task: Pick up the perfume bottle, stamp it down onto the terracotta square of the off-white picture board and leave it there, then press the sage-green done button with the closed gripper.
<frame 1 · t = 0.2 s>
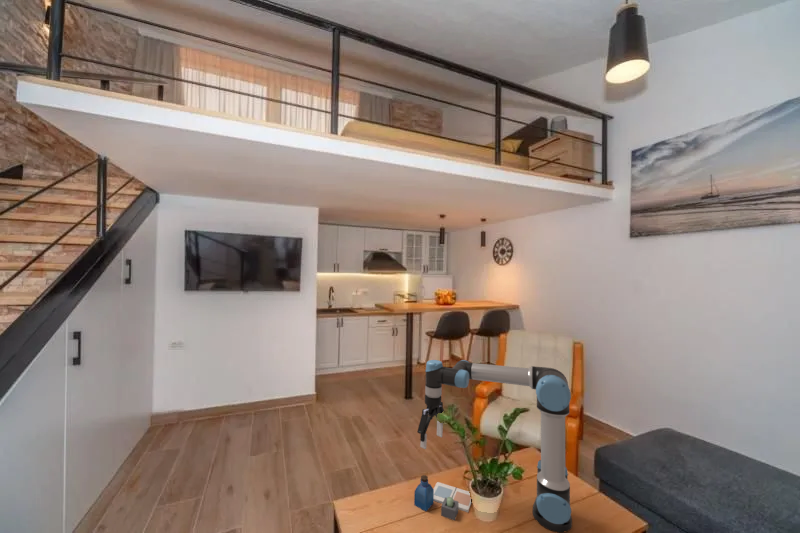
hand: (431, 441, 144), 27 cm above the table, fingers open, 13 cm apart
button housing: (449, 513, 136), on the table
picture board: (451, 497, 146), on the table
perfume bottle: (423, 504, 141), on the table
done button: (450, 503, 136), point 4 cm above the table, slide at 0.0 cm
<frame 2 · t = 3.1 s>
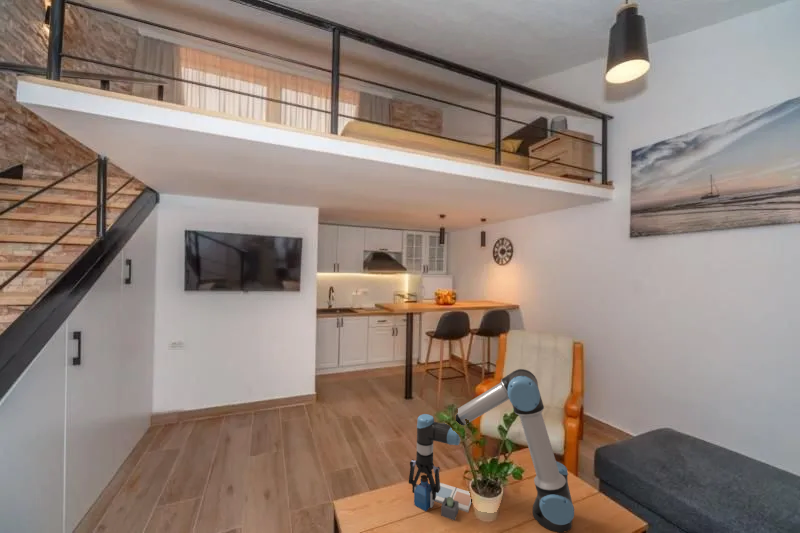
hand: (423, 502, 141), 1 cm above the table, fingers closed on perfume bottle, 7 cm apart
perfume bottle: (423, 504, 141), on the table, touching gripper
everything else where it was.
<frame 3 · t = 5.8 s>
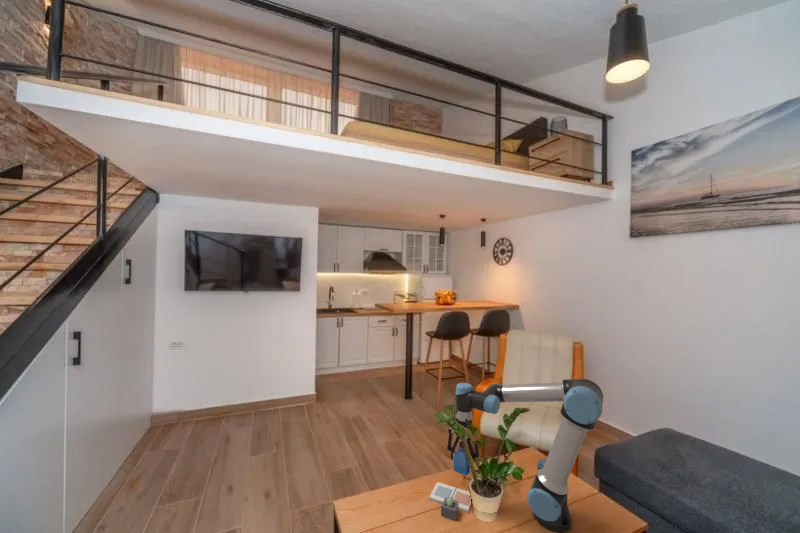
hand: (462, 468, 144), 14 cm above the table, fingers closed on perfume bottle, 7 cm apart
perfume bottle: (462, 470, 144), point 14 cm above the table, touching gripper
everything else where it was.
when the fingers open (3 cm above the table, at t = 8.5 s): perfume bottle drops 1 cm, resting on picture board.
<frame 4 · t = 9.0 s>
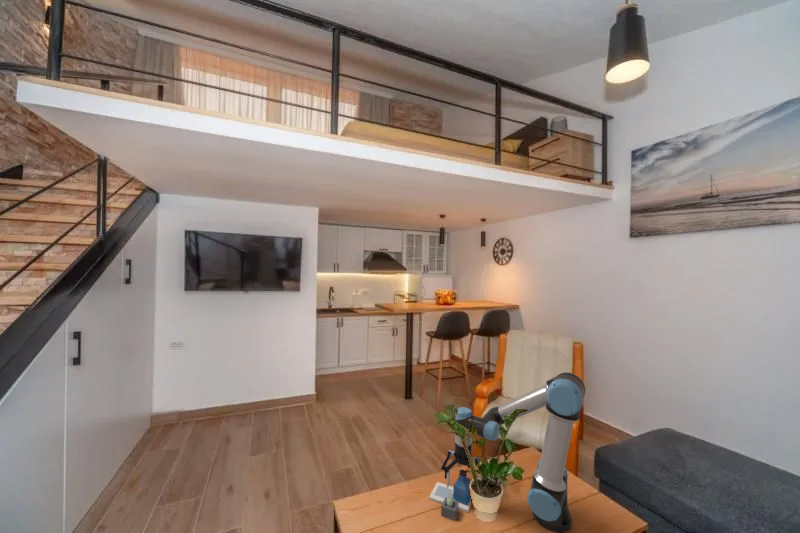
hand: (462, 490, 144), 5 cm above the table, fingers open, 13 cm apart
perfume bottle: (462, 498, 144), point 1 cm above the table, touching picture board
everything else where it was.
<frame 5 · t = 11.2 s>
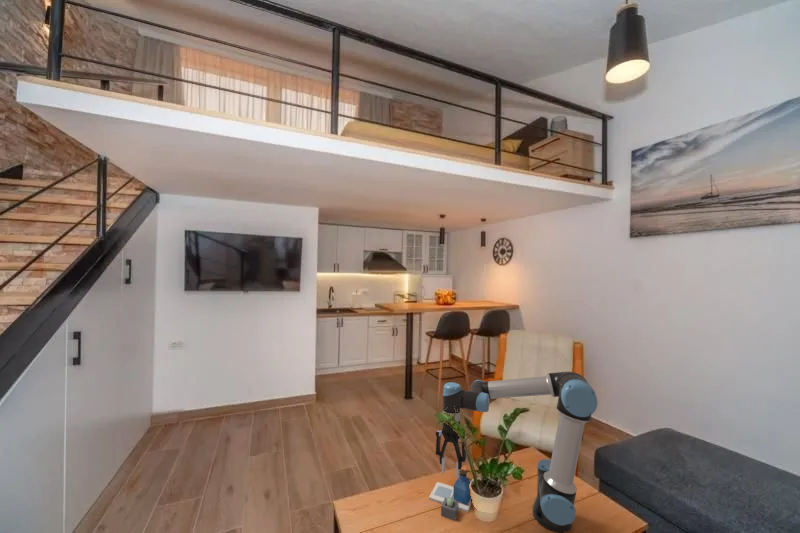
hand: (450, 473, 137), 17 cm above the table, fingers open, 6 cm apart
nothing on the table moved.
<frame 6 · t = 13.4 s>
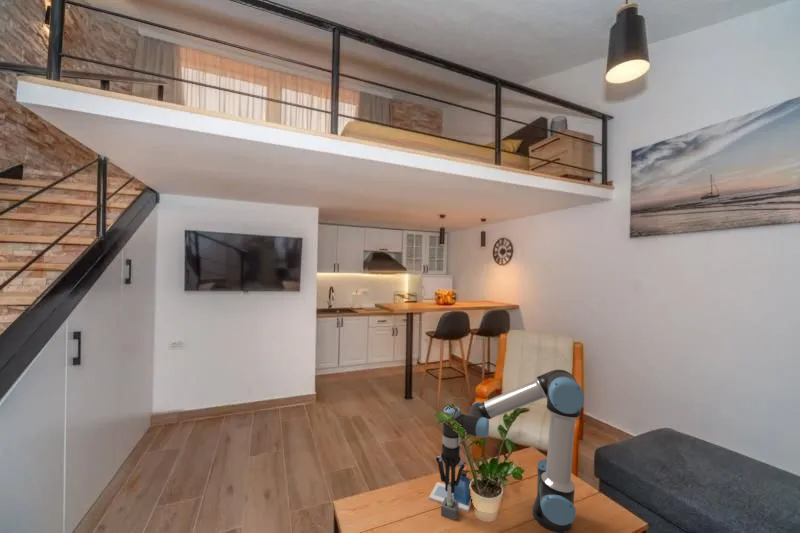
hand: (449, 499, 136), 6 cm above the table, fingers closed
done button: (450, 504, 136), point 4 cm above the table, slide at 0.2 cm, touching gripper
everything else where it was.
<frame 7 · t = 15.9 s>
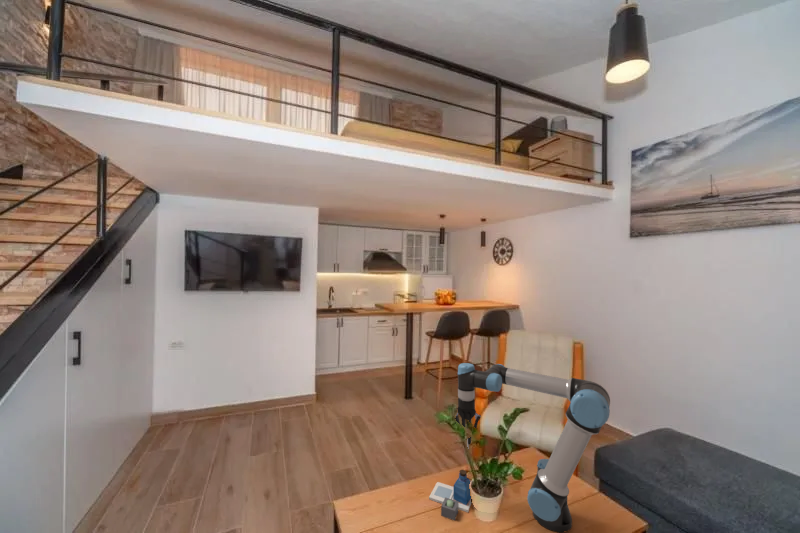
hand: (466, 450, 144), 23 cm above the table, fingers closed
done button: (449, 506, 136), point 3 cm above the table, slide at 1.2 cm
everything else where it was.
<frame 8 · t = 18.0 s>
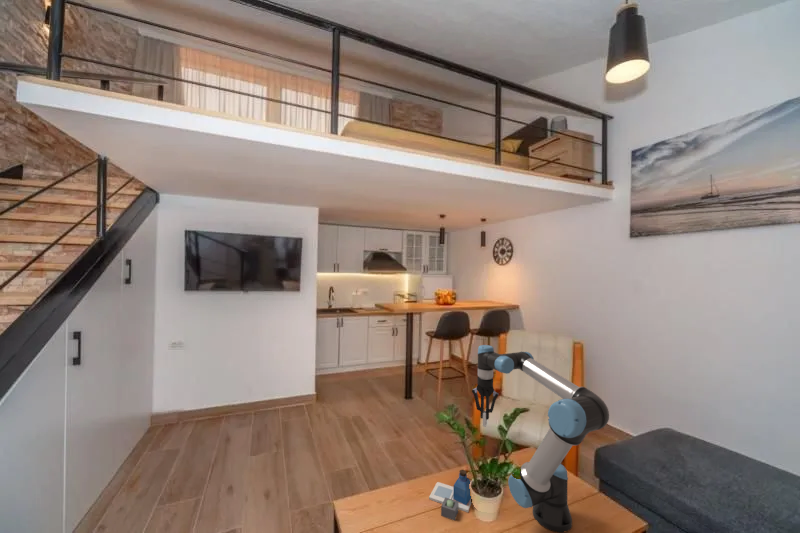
hand: (484, 425, 155), 29 cm above the table, fingers closed
nothing on the table moved.
at the end: perfume bottle inside the target area on the picture board (0.1 cm from its centre), point 0.9 cm above the picture board's base; perfume bottle tilted 0°; done button slide at 1.2 cm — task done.
